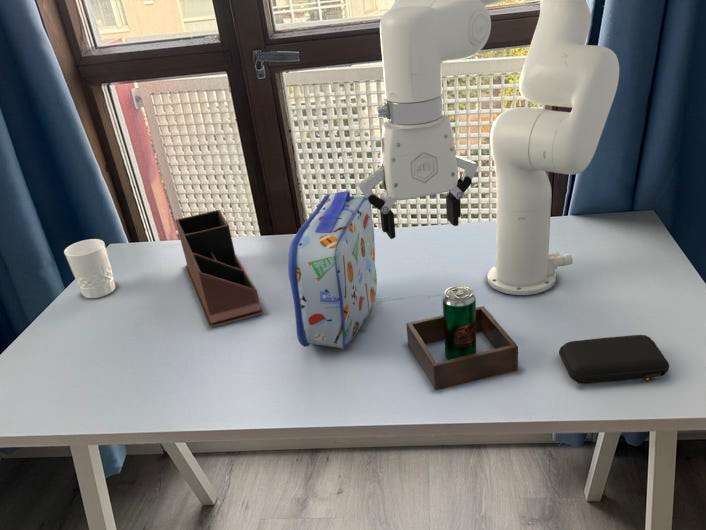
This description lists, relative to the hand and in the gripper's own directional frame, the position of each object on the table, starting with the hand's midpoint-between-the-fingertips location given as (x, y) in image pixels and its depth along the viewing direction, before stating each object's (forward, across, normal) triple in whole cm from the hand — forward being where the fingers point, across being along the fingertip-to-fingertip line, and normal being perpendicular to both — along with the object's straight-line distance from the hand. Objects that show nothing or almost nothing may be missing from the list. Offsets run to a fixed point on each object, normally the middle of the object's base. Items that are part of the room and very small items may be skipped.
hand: (421, 229), depth 103 cm
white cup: (+22, -56, +49) cm, 78 cm away
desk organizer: (+22, -31, +38) cm, 54 cm away
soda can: (+22, +4, -3) cm, 23 cm away
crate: (+22, +4, -3) cm, 23 cm away
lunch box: (+22, -11, +17) cm, 30 cm away
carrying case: (+22, +24, -15) cm, 36 cm away
